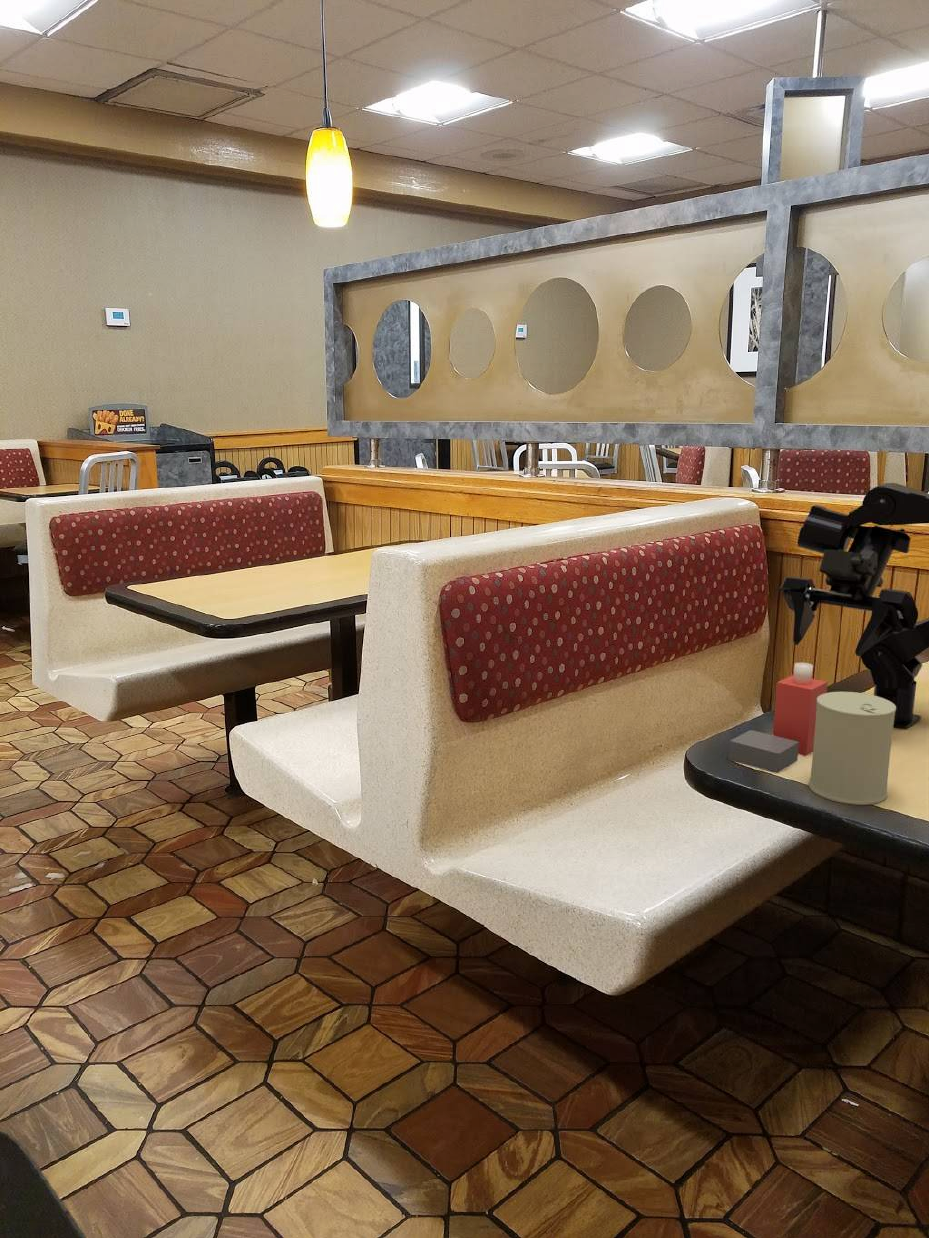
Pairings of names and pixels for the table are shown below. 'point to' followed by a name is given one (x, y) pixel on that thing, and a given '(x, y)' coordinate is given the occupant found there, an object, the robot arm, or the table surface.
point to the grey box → (763, 751)
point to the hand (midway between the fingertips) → (825, 648)
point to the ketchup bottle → (798, 707)
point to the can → (852, 747)
